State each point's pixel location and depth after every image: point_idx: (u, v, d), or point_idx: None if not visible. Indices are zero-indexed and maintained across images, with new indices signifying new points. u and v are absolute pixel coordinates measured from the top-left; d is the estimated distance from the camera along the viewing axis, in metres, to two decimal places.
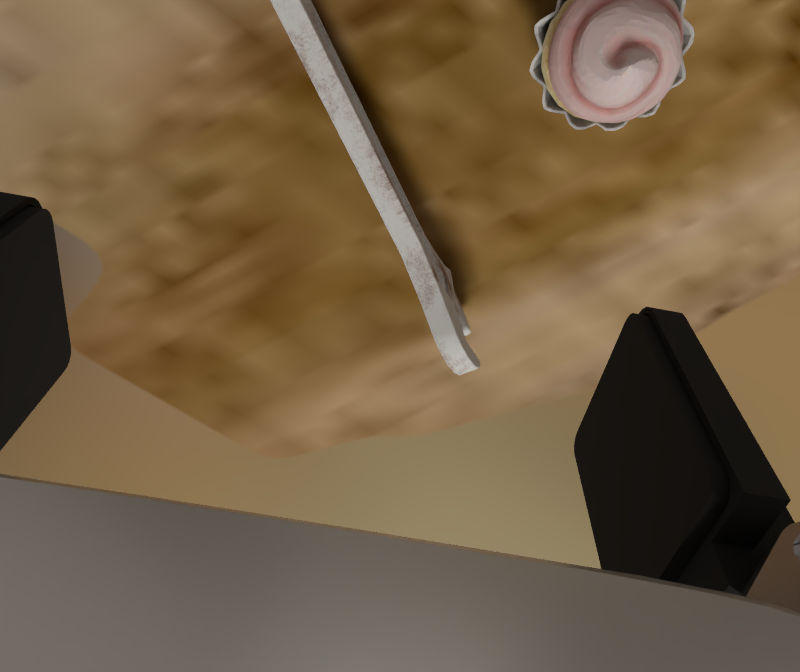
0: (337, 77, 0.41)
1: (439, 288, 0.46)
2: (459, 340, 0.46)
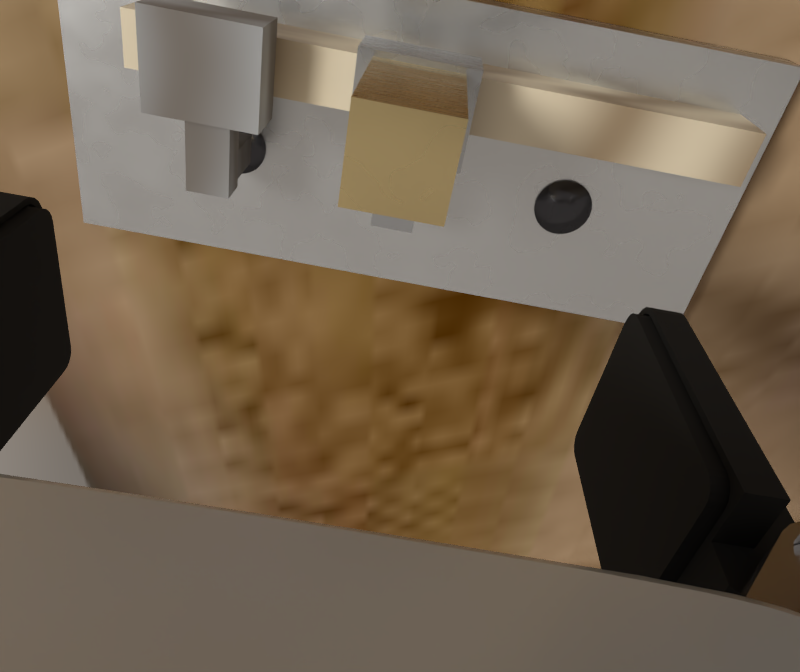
0: None
1: None
2: None
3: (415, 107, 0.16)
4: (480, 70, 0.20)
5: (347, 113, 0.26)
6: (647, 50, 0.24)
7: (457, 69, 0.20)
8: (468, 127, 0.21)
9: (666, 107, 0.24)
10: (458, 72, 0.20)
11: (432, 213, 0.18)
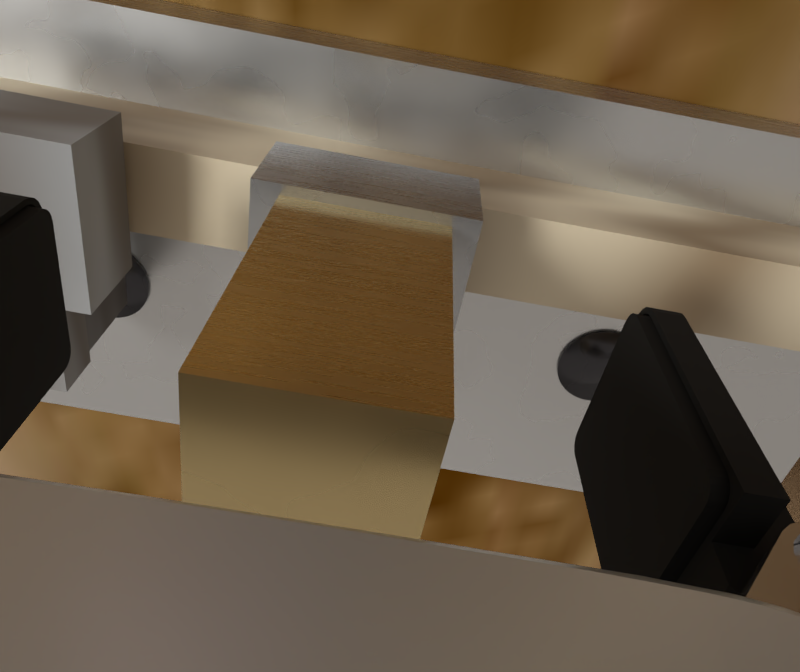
0: None
1: None
2: None
3: (331, 389, 0.07)
4: (477, 219, 0.11)
5: None
6: (746, 149, 0.15)
7: (435, 217, 0.11)
8: (456, 308, 0.12)
9: (779, 243, 0.15)
10: (437, 223, 0.11)
11: None
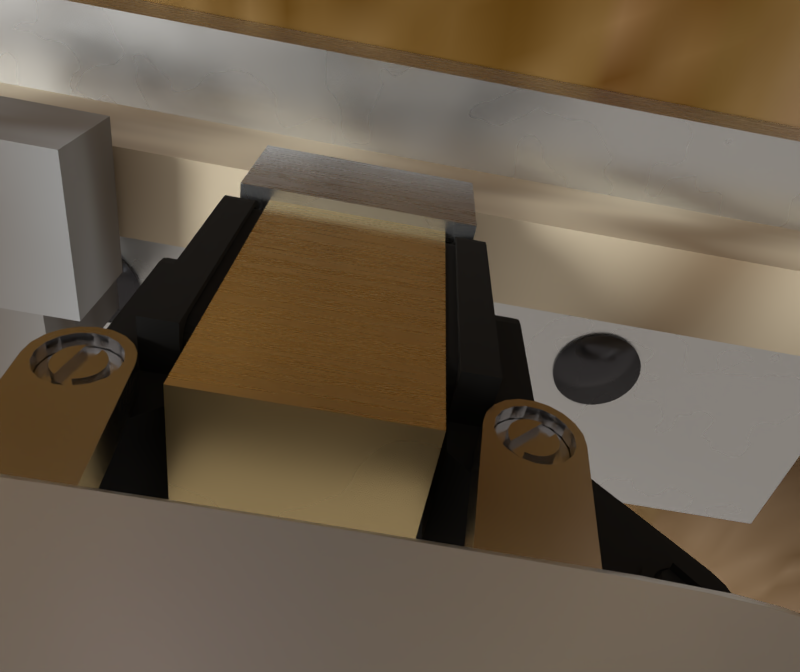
0: None
1: None
2: None
3: (320, 401, 0.07)
4: (471, 224, 0.11)
5: None
6: (742, 152, 0.15)
7: (428, 222, 0.11)
8: None
9: (775, 247, 0.15)
10: (430, 228, 0.11)
11: None
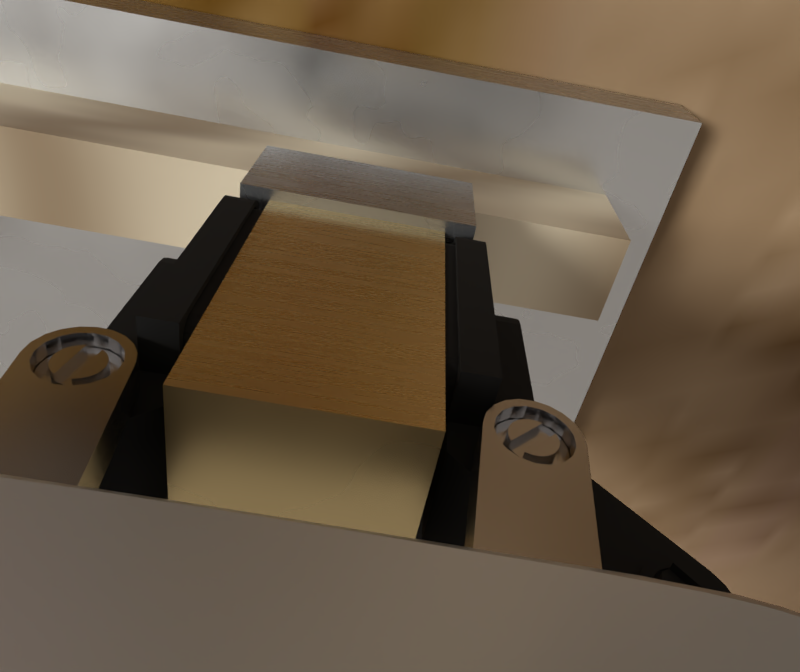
0: None
1: None
2: None
3: (320, 401, 0.07)
4: (470, 225, 0.11)
5: None
6: (439, 94, 0.14)
7: (427, 223, 0.11)
8: None
9: None
10: (429, 228, 0.11)
11: None
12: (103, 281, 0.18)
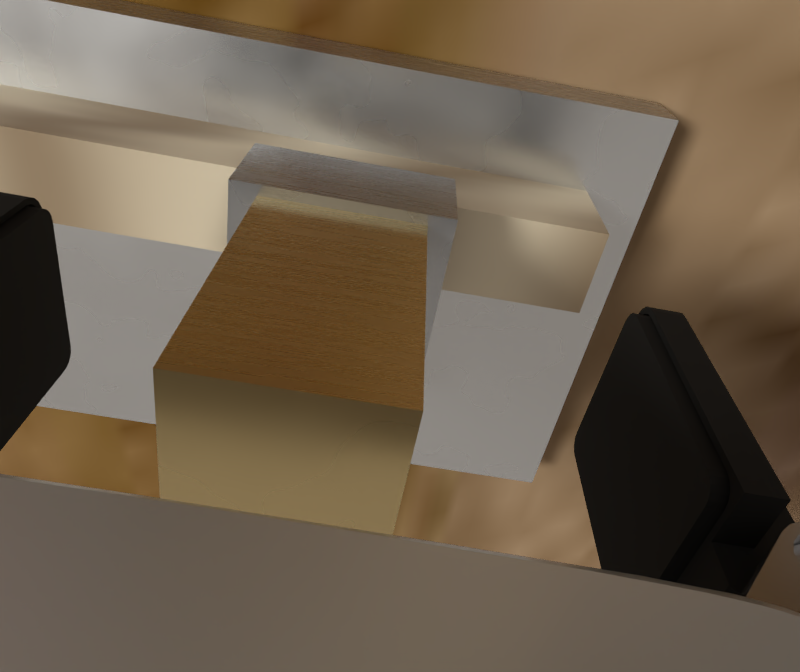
0: None
1: None
2: None
3: (303, 383, 0.07)
4: (452, 218, 0.11)
5: None
6: (423, 93, 0.15)
7: (411, 217, 0.11)
8: (433, 306, 0.12)
9: None
10: (412, 222, 0.11)
11: None
12: (95, 278, 0.18)
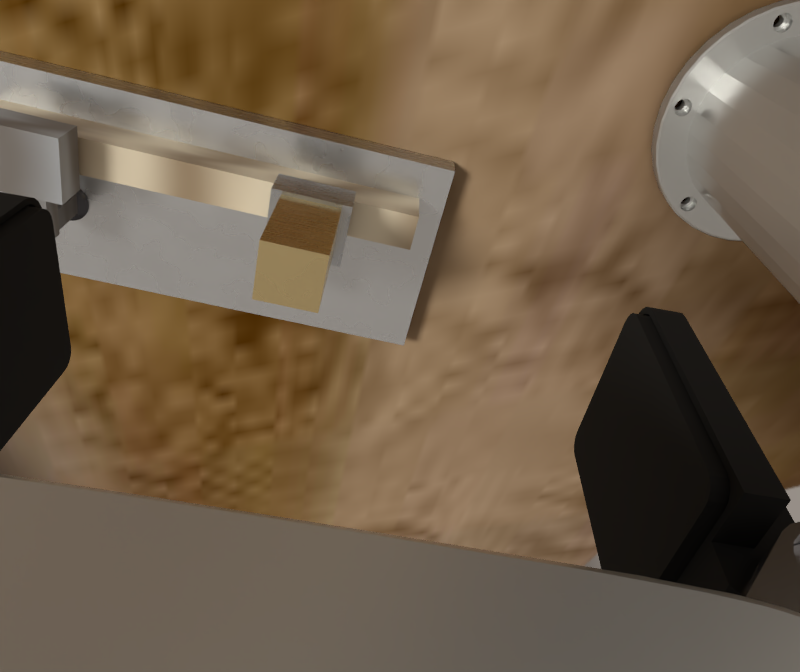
0: None
1: None
2: None
3: (298, 246, 0.28)
4: (350, 206, 0.32)
5: None
6: (348, 154, 0.35)
7: (336, 205, 0.32)
8: (344, 239, 0.33)
9: (358, 194, 0.35)
10: (336, 207, 0.32)
11: (310, 305, 0.29)
12: (193, 227, 0.38)
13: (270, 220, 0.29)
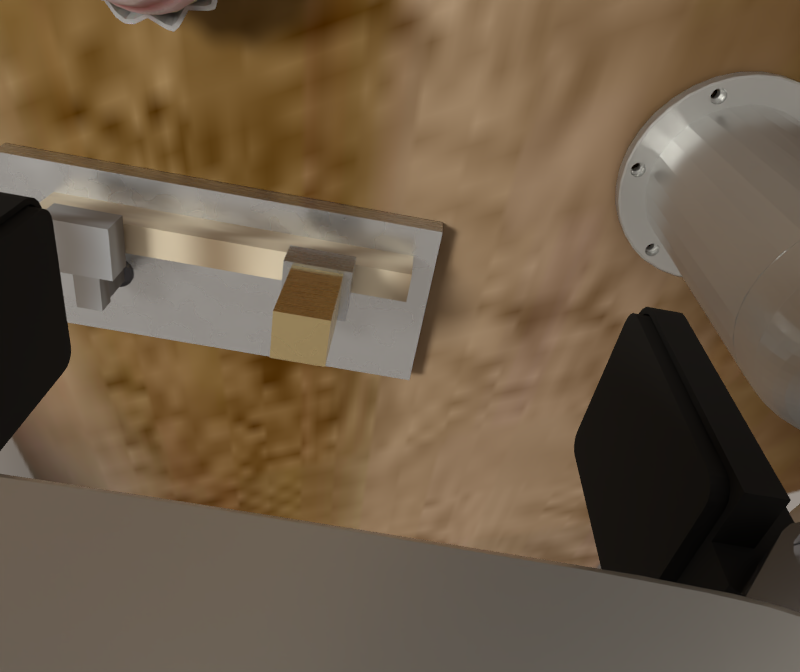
0: None
1: None
2: None
3: (305, 314, 0.33)
4: (350, 272, 0.37)
5: None
6: (349, 222, 0.41)
7: (338, 271, 0.37)
8: (347, 299, 0.38)
9: (359, 256, 0.41)
10: (338, 273, 0.37)
11: (318, 360, 0.35)
12: (221, 287, 0.44)
13: (282, 291, 0.35)
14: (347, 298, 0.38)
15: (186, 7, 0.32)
